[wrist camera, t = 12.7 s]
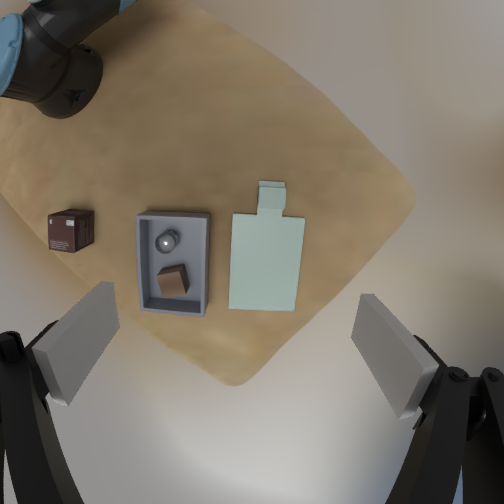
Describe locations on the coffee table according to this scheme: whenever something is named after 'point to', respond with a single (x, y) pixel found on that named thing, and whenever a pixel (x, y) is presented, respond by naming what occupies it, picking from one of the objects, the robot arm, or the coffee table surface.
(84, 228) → the box
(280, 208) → the lid
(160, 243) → the metal peg
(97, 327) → the robot arm
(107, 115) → the coffee table surface
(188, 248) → the tub
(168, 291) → the walnut block
